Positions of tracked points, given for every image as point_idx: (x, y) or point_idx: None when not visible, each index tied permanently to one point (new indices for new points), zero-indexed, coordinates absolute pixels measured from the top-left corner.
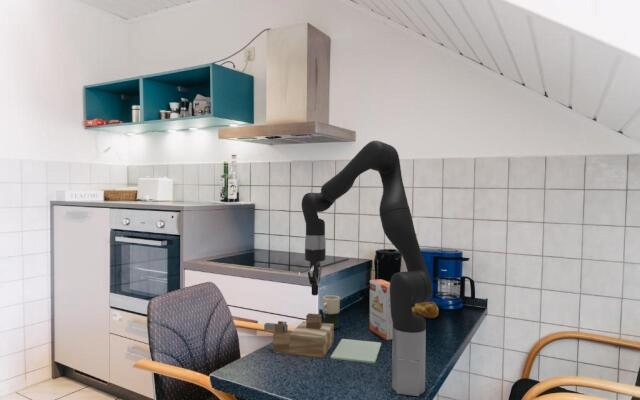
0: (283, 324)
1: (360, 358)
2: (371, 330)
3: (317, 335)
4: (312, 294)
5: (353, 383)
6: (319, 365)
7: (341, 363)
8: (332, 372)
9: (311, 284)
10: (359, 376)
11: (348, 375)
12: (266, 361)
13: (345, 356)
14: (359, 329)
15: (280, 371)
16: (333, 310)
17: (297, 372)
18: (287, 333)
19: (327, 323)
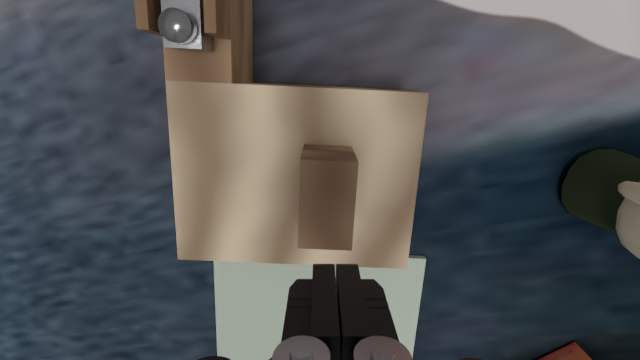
0: (161, 27)
1: (230, 344)
2: (558, 350)
3: (199, 228)
4: (313, 271)
5: (49, 339)
6: (139, 221)
7: (184, 288)
8: (99, 272)
9: (278, 350)
10: (104, 349)
11: (98, 320)
12: (95, 2)
13: (233, 297)
14: (580, 302)
15: (28, 96)
16: (632, 243)
17: (48, 161)
18: (175, 64)
19: (584, 181)
